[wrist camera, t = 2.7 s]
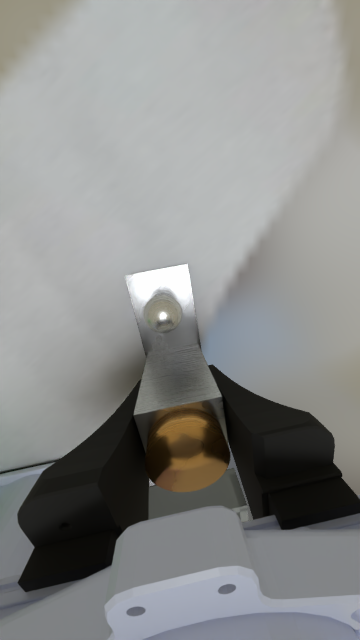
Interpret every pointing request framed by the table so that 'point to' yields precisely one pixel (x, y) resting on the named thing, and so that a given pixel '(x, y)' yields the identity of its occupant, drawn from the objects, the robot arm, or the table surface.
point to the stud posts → (164, 308)
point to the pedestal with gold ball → (181, 420)
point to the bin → (200, 498)
